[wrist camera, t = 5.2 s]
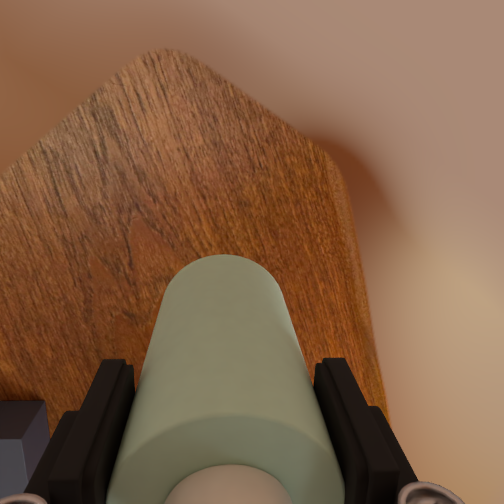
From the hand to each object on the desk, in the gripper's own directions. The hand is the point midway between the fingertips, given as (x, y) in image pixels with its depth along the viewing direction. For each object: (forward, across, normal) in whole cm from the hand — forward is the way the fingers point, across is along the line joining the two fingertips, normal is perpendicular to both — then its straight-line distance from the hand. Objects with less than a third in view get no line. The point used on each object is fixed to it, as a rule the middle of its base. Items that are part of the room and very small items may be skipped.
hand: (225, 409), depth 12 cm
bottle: (+6, 0, 0) cm, 6 cm away
